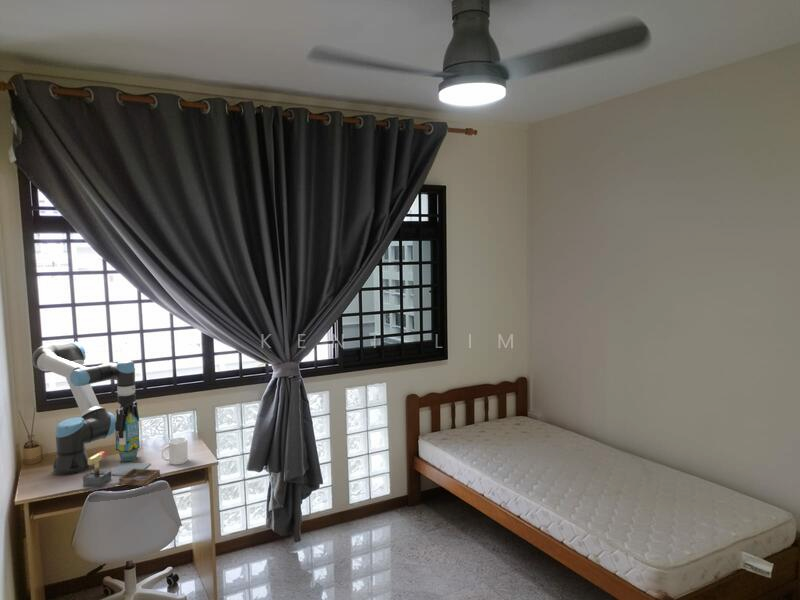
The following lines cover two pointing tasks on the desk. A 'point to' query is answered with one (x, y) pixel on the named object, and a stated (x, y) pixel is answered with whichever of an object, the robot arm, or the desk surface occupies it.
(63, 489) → the desk surface
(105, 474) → the block
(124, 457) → the flower pot
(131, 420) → the carton
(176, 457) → the mug
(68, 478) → the desk surface
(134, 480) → the frame
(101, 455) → the key
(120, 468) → the mat
